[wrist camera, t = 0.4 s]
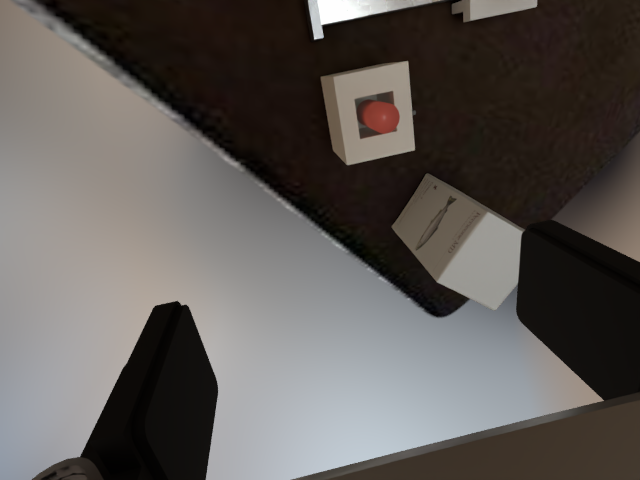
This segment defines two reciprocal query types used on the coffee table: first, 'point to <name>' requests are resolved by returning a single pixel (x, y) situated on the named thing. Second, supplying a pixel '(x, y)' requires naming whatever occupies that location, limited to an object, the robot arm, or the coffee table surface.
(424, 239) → the supplement box
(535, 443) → the robot arm
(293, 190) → the coffee table surface
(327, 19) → the rail
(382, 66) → the white cube box
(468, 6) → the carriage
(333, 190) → the coffee table surface
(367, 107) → the button
